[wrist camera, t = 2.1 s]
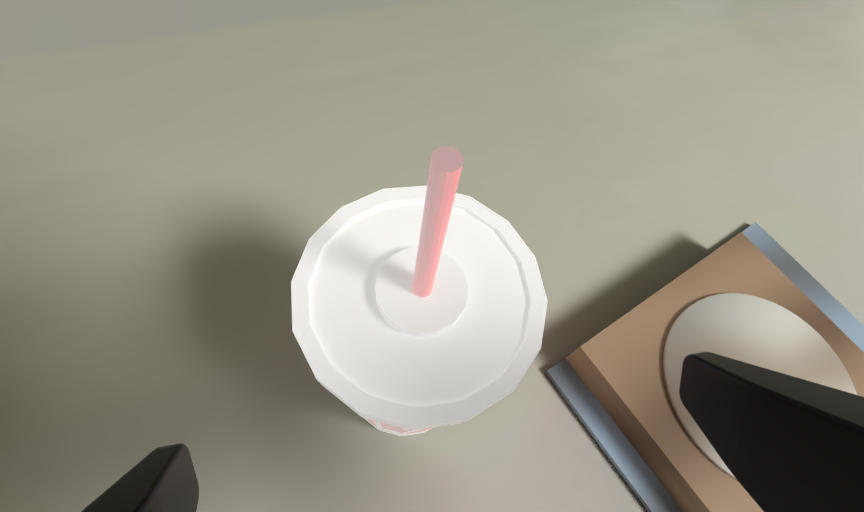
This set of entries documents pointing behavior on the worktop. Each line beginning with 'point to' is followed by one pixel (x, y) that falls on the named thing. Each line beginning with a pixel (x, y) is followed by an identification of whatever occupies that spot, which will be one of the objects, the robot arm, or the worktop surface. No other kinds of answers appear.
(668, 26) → the worktop surface
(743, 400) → the robot arm
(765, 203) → the worktop surface
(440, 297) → the beverage cup
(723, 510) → the blueprint plinth
